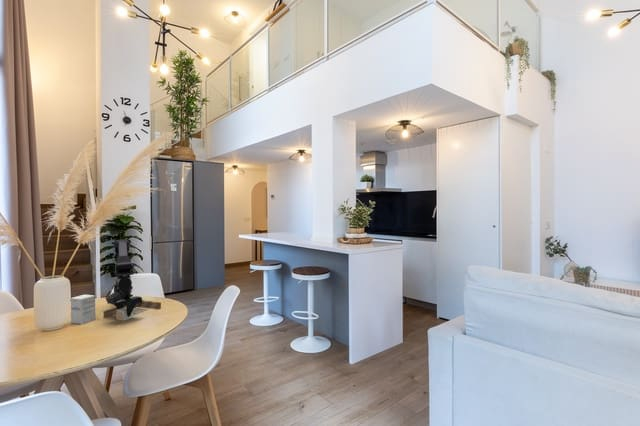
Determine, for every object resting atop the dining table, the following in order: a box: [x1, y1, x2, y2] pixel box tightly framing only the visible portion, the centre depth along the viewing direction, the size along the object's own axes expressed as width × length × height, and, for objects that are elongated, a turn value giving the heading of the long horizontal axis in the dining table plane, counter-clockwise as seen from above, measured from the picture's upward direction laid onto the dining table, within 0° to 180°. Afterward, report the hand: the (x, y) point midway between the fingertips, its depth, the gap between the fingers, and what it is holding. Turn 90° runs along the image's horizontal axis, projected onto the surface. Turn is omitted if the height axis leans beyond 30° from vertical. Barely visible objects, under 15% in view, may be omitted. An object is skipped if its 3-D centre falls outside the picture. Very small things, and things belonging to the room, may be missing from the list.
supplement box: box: [70, 294, 96, 325], centre depth 156 cm, size 7×7×13 cm
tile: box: [133, 307, 149, 315], centre depth 170 cm, size 8×8×1 cm
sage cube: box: [116, 307, 134, 322], centre depth 159 cm, size 5×5×5 cm
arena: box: [103, 299, 162, 319], centre depth 168 cm, size 16×22×4 cm
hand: (124, 315), depth 159 cm, fingers open, 6 cm apart
